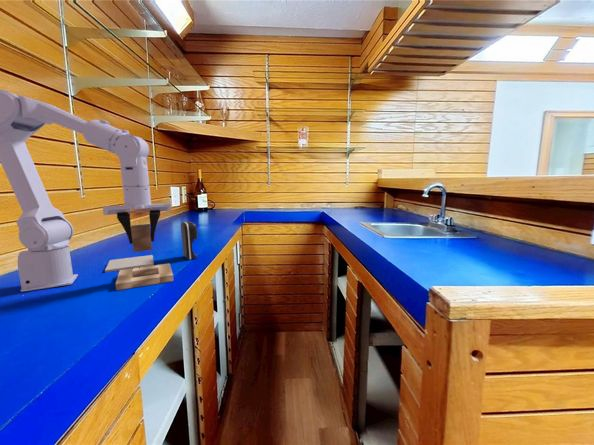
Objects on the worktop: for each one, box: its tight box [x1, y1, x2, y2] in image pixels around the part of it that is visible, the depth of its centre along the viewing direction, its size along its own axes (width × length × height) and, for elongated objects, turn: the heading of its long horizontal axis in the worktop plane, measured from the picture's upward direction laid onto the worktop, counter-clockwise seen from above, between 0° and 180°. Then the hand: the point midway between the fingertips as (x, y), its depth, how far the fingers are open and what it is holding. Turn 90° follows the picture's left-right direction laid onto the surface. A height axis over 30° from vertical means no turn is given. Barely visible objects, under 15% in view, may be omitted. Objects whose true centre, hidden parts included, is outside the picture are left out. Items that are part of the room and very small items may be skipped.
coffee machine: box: [180, 221, 199, 260], centre depth 94 cm, size 7×4×11 cm, turn 32°
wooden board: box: [115, 263, 174, 291], centre depth 75 cm, size 12×12×2 cm
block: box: [131, 223, 153, 253], centre depth 73 cm, size 4×4×6 cm
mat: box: [104, 254, 154, 273], centre depth 89 cm, size 12×12×1 cm
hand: (142, 241), depth 73 cm, fingers closed on block, 4 cm apart
